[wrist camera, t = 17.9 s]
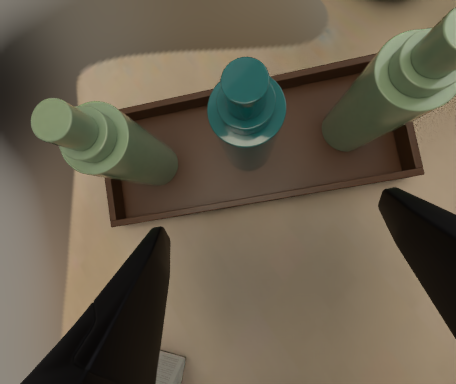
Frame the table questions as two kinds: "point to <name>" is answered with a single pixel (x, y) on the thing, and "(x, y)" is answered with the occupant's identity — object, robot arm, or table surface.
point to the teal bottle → (246, 113)
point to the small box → (170, 368)
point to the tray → (279, 159)
